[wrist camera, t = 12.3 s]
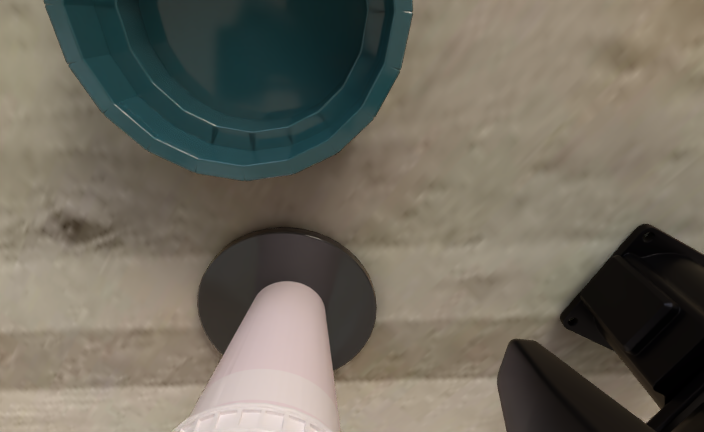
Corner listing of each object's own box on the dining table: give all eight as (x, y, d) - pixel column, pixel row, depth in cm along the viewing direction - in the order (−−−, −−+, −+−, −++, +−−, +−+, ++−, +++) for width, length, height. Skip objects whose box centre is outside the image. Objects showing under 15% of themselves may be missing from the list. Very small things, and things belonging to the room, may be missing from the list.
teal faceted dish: (454, -60, 17) (484, -81, 13) (319, 191, 21) (313, 229, 17) (160, -253, 14) (96, -344, 11) (73, 71, 18) (5, 86, 15)
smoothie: (280, 379, 24) (208, 780, 12) (197, 300, 22) (-3, 687, 9) (377, 323, 23) (415, 711, 10) (298, 232, 21) (223, 581, 8)
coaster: (408, 273, 22) (409, 280, 22) (327, 393, 26) (327, 401, 25) (240, 195, 21) (237, 200, 20) (176, 335, 24) (172, 342, 23)
